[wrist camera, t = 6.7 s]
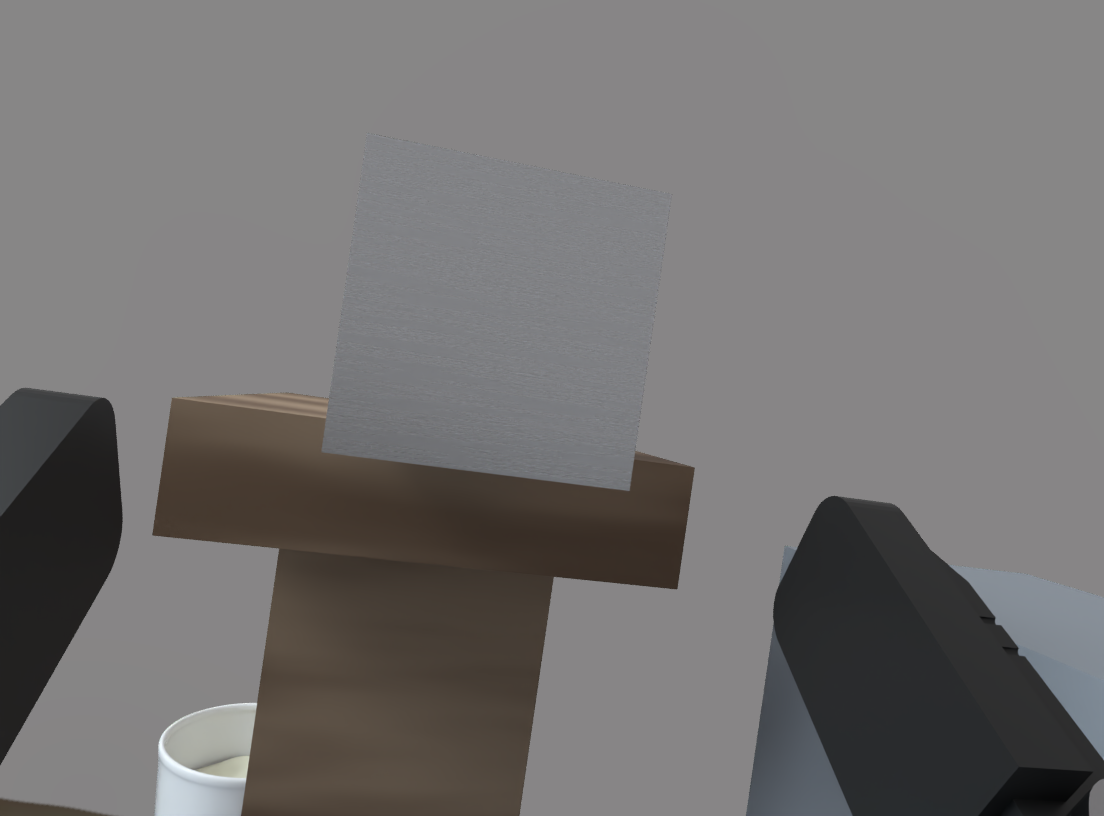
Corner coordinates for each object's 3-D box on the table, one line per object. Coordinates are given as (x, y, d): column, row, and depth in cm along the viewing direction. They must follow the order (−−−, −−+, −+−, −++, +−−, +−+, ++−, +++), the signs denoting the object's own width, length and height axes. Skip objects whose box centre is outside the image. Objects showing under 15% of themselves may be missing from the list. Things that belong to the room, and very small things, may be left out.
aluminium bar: (629, 491, 10) (672, 193, 10) (321, 451, 10) (367, 132, 10) (472, 417, 36) (485, 331, 36) (385, 404, 35) (397, 317, 35)
